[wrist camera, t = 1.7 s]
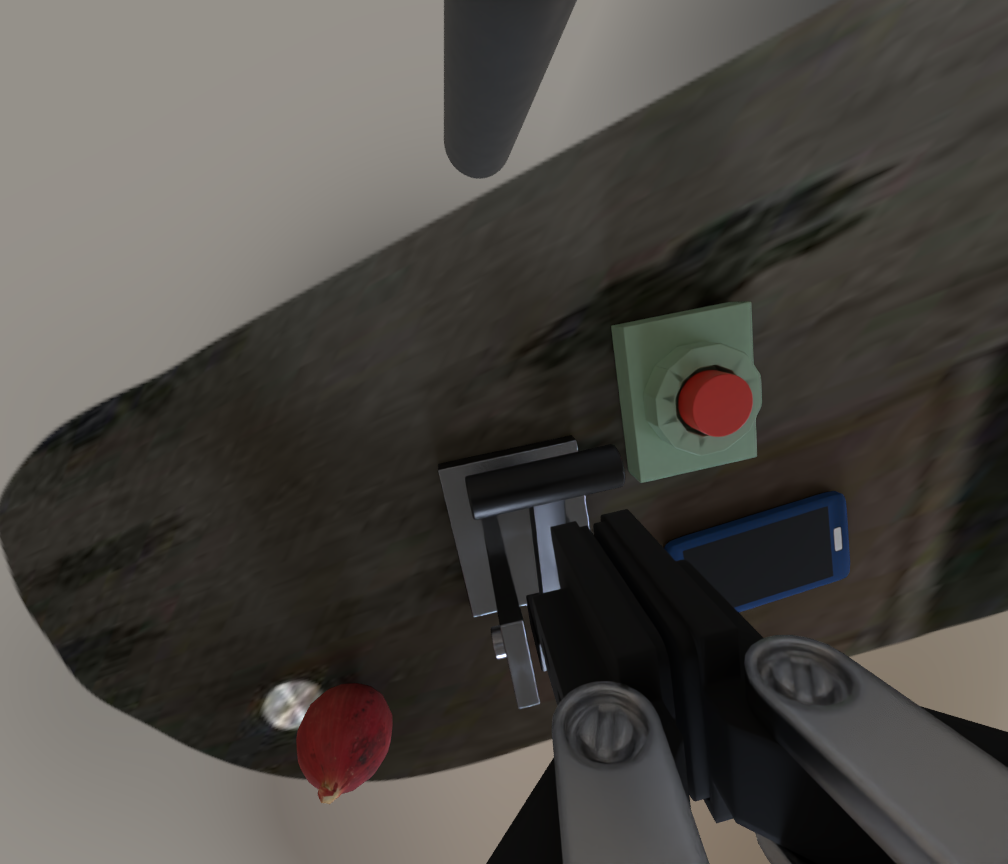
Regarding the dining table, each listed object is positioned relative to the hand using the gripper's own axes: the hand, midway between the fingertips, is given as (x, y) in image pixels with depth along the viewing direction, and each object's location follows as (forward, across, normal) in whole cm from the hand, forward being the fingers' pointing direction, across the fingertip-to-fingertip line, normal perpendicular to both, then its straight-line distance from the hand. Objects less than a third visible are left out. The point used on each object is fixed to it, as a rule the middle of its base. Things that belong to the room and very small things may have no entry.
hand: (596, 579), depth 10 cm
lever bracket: (+21, 0, +9) cm, 23 cm away
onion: (+21, +14, +19) cm, 31 cm away
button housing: (+21, -12, +2) cm, 24 cm away
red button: (+17, -12, +2) cm, 21 cm away
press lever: (+9, 0, +4) cm, 10 cm away
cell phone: (+21, -17, +16) cm, 31 cm away
